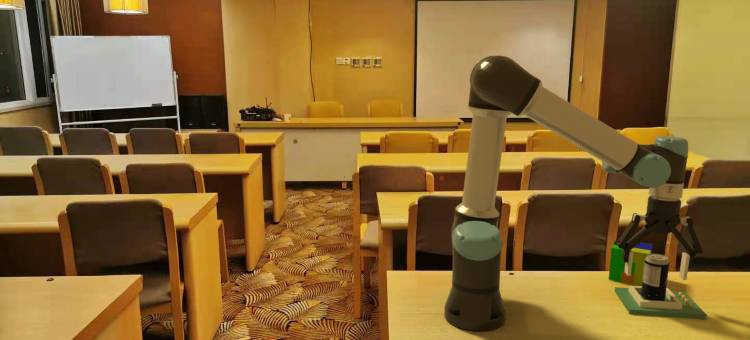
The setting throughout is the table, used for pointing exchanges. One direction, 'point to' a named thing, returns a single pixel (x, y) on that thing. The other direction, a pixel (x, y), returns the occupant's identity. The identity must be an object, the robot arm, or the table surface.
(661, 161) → the robot arm
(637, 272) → the puzzle toy
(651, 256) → the beverage can
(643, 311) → the header board
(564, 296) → the table surface
